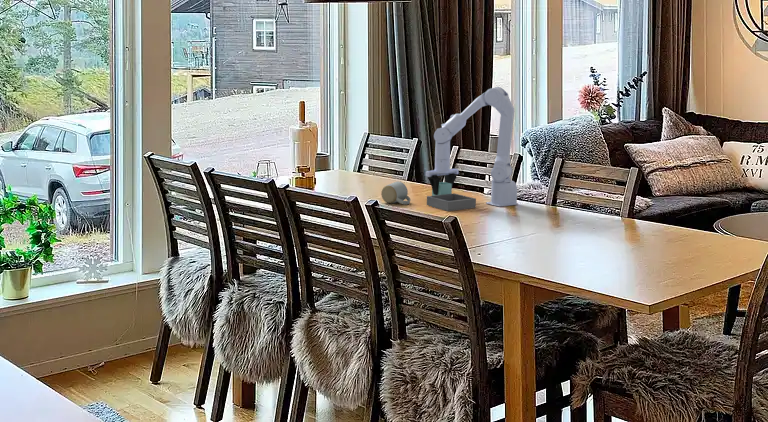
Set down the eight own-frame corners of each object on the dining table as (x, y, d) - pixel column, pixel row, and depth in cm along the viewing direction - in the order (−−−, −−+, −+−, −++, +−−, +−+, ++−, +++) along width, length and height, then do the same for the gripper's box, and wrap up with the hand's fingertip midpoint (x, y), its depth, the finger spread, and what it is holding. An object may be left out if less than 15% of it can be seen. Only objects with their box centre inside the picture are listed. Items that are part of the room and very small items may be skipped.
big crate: (454, 202, 361) (454, 193, 360) (475, 207, 350) (475, 198, 350) (426, 205, 354) (426, 196, 353) (447, 211, 343) (448, 201, 343)
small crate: (443, 195, 368) (443, 181, 367) (451, 197, 364) (451, 183, 363) (431, 197, 365) (432, 183, 364) (440, 199, 361) (440, 184, 360)
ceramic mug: (379, 202, 358) (380, 182, 357) (391, 199, 365) (391, 180, 363) (403, 206, 353) (404, 186, 351) (414, 203, 359) (415, 183, 358)
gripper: (451, 156, 369) (450, 190, 372) (421, 159, 361) (420, 193, 364) (462, 158, 363) (461, 193, 366) (432, 161, 355) (431, 196, 358)
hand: (441, 193), depth 364 cm, fingers closed on small crate, 5 cm apart
